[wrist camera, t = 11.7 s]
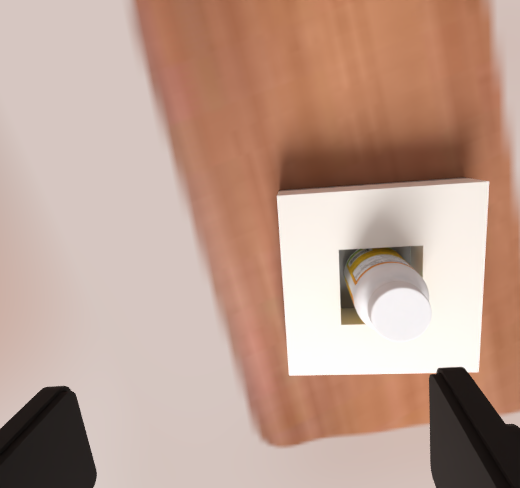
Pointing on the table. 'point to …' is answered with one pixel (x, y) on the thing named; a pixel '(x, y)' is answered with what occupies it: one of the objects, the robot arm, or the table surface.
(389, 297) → the supplement bottle
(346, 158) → the table surface
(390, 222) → the socket block
